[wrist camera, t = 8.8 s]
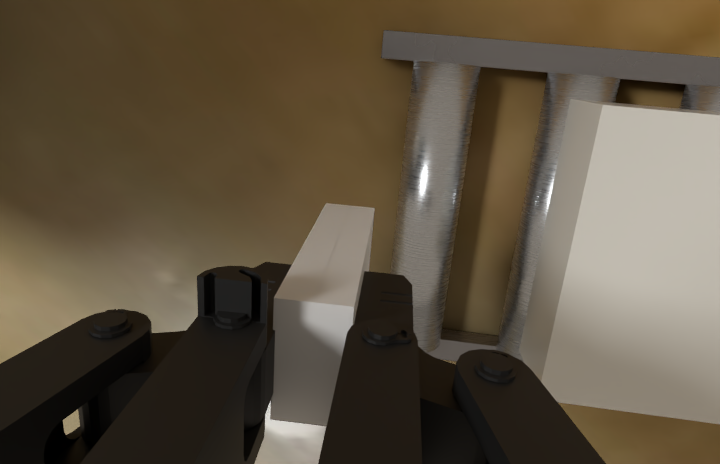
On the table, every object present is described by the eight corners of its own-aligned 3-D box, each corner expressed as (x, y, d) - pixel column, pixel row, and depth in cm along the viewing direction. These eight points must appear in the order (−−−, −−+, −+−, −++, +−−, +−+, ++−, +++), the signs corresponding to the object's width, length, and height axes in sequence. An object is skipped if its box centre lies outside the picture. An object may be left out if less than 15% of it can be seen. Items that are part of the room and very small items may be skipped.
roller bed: (920, 410, 27) (979, 450, 24) (357, 337, 29) (350, 365, 27) (1079, 89, 22) (1177, 91, 19) (385, 32, 24) (380, 26, 22)
